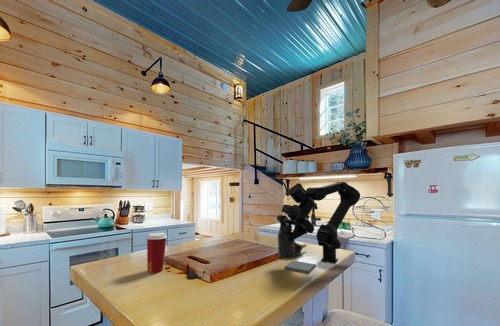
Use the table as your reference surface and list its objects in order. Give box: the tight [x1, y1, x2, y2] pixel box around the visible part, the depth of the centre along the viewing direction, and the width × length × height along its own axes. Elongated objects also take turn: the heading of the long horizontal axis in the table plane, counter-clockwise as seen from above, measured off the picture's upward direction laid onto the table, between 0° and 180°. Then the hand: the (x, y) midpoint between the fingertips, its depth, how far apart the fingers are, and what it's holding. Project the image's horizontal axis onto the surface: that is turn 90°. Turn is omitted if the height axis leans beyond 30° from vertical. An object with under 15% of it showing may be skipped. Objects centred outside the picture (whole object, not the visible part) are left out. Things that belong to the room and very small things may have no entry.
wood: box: [187, 270, 202, 280], centre depth 98 cm, size 22×7×3 cm, turn 13°
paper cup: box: [145, 232, 168, 274], centre depth 96 cm, size 8×8×14 cm
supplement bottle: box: [277, 225, 296, 258], centre depth 101 cm, size 7×7×12 cm
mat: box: [283, 260, 317, 275], centre depth 101 cm, size 10×10×1 cm
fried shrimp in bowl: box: [295, 241, 308, 256], centre depth 123 cm, size 9×11×18 cm
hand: (283, 239), depth 100 cm, fingers closed on supplement bottle, 7 cm apart
